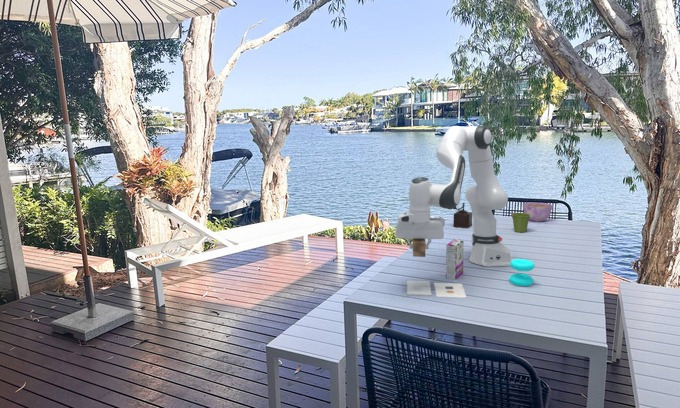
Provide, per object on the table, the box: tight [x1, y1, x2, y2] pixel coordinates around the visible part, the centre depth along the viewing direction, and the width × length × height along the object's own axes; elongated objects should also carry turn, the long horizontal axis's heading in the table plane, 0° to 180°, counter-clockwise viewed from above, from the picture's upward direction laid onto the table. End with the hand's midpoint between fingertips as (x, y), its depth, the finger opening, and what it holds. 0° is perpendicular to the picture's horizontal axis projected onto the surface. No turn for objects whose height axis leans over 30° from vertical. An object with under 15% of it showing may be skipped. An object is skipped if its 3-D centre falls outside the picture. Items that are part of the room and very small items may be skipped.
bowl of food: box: [522, 201, 554, 223], centre depth 317 cm, size 20×20×12 cm
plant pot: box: [511, 212, 531, 233], centre depth 286 cm, size 12×12×11 cm
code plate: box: [433, 282, 467, 298], centre depth 188 cm, size 12×16×1 cm
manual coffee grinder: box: [452, 202, 473, 229], centre depth 302 cm, size 16×11×18 cm
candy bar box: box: [445, 238, 465, 280], centre depth 205 cm, size 11×5×16 cm, turn 148°
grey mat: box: [406, 280, 433, 297], centre depth 190 cm, size 10×16×1 cm, turn 172°
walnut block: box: [412, 239, 427, 258], centre depth 187 cm, size 5×10×6 cm, turn 171°
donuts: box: [508, 258, 536, 287], centre depth 194 cm, size 10×10×10 cm
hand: (418, 248), depth 187 cm, fingers closed on walnut block, 5 cm apart
